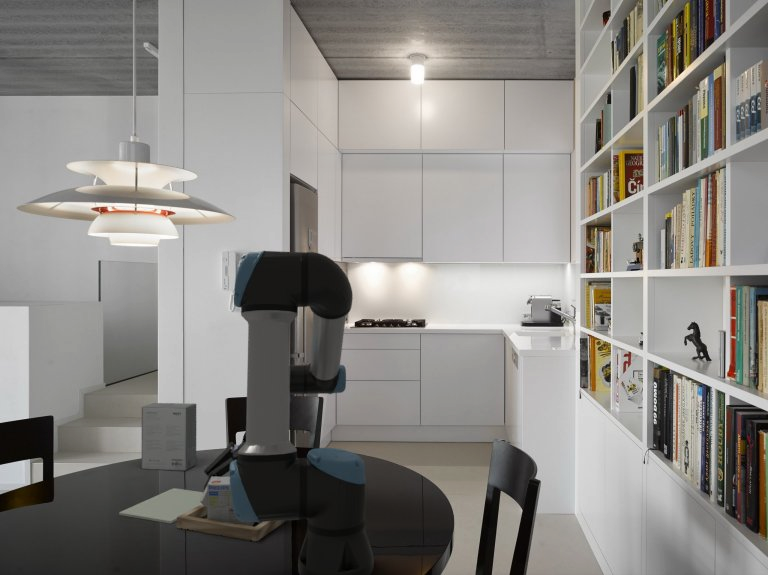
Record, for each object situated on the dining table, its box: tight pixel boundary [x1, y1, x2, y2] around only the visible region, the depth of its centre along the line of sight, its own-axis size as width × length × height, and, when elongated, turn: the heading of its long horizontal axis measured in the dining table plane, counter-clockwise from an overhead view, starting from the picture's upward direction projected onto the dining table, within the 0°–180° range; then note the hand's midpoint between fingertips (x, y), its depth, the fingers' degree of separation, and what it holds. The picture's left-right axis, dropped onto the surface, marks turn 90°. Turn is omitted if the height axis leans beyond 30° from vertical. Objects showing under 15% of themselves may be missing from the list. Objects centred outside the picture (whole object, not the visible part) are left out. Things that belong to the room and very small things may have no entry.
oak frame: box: [176, 504, 287, 542], centre depth 139 cm, size 13×22×2 cm, turn 70°
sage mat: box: [118, 487, 204, 524], centre depth 151 cm, size 20×16×1 cm
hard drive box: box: [141, 402, 197, 472], centre depth 187 cm, size 16×8×20 cm, turn 82°
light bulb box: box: [206, 476, 256, 527], centre depth 139 cm, size 11×7×11 cm, turn 92°
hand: (226, 507), depth 137 cm, fingers open, 13 cm apart
